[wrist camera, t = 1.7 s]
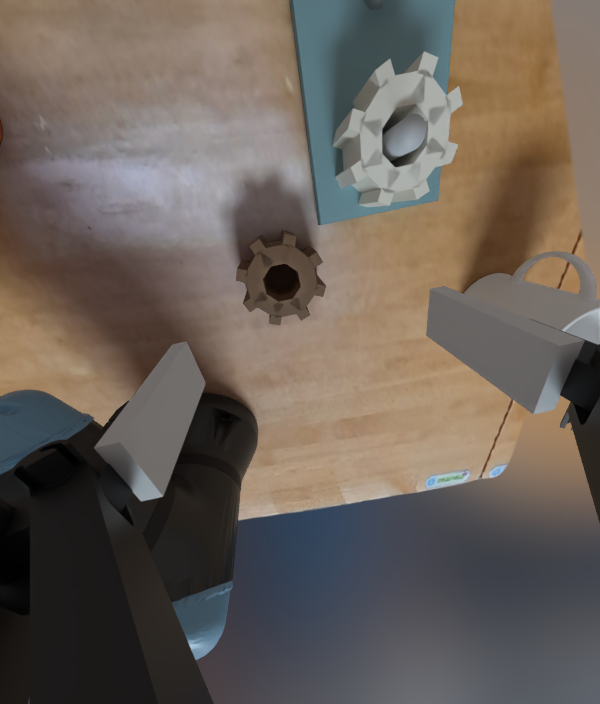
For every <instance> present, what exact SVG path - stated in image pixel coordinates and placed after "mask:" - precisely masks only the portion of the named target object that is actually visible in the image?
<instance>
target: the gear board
mask: <svg viewBox="0 0 600 704" xmlns="http://www.w3.org/2000/svg"><path fill="white" fill-rule="evenodd" d="M454 5H455V0H290V8H291V16H292V24H293V31H294V39H295V47H296V55H297V62H298V70H299V78H300V86H301V94H302V101H303V109H304V117H305V125H306V132H307V140H308V148H309V156H310V164H311V171H312V179H313V187H314V195H315V202H316V210H317V218H318V225H324V224H328V223H333V222H338V221H343V220H347V219H352V218H357V217H362V216H366V215H371V214H376V213H381V212H385V211H390V210H395V209H400V208H404V207H409V206H414V205H419V204H423V203H428V202H433V201H438V196H439V184H440V172H441V166H439V167H435V168H434V170H433V171H432V172H431V174H430V175H429V176H428V178H427V179H426V181H427V184H428V187H429V192H428V193H426V194H425V195H423V196H422V197H420V198H419V199H417V200H410V201H402V202H393V203H391V204H390V205H389V206H378V207H365V206H361V205H358V203H359V199H360V196H361V193H360V192H358V191H357V190H356V189H355V188H354V187H353V186H352V185H349V186H347V187H344V188H342V189H341V188H340V186H339V184H338V182H337V180H336V178H335V177H336V176H337V175H338V174H340V173H341V172H342V171H344V168H343V155H342V149H339V148H336V147H333V141H334V137H335V132H336V130H337V128H338V127H339V126H340V124H341V123H342V122H343V120H344V119H345V118H346V117H347V115H348V114H349V113H350V111H351V110H352V109H353V108H354V109H355V107H354V105H353V100H354V99H355V98H356V96H357V95H358V93H359V92H360V91H361V89H362V88H363V86H364V85H365V84H366V82H367V81H368V80H369V78H370V77H371V75H372V74H373V73H374V71H375V70H376V69H378V68H379V67H380V66H381V65H382V64H384V63H385V62H386V61H387V60H389V59H390V60H391V63H392V66H393V70H394V73H395V75H400V74H403V73H404V72H405V71H406V70H407V69H408V68H409V67H410V66H411V65H412V64H413V62H414V61H415V60H416V59H417V58H418V57H419V56H420V55H421V54H422V53H423V52H424V51H425V52H427V53H429V54H432V55H434V56H436V57H439V58H438V61H437V64H436V67H435V70H434V73H433V76H432V77H433V78H434V79H435V81H436V82H437V83H438V85H439V86H440V87H441V89H442V90H443V91H444V93H445V94H446V95H447V89H448V77H449V65H450V53H451V41H452V29H453V17H454ZM425 134H426V124H425V121H424V119H423V117H422V116H421V115H419V114H410V115H408V116H407V117H406V118H404V119H403V120H401V121H400V122H399V123H397V124H396V125H395V126H393V127H392V128H391V129H388V128H387V127H383V129H382V154H383V155H384V156H385V157H386V158H387V159H388V160H389V161H390V163H391V164H392V165H393V163H394V162H395V160H396V159H397V158H398V157H400V156H403V155H405V154H407V153H409V152H411V151H413V150H415V149H417V148H418V147H419V146H420V145H421V144H422V142H423V140H424V138H425Z"/></svg>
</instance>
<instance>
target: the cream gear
mask: <svg viewBox="0 0 600 704" xmlns="http://www.w3.org/2000/svg"><path fill="white" fill-rule="evenodd" d="M438 58H439V57H436V56H434V55H432V54H429V53H427V52H425V51H424V52H423V53H422V54H421V55H420V56H419V57H418V58H417V59H416V60H415V61H414V62H413V64H412V65H411V66H410V67H409V68H408V69H407V70H406V71H405V72H404V73H403V74H400V75H395V73H394V70H393V66H392V63H391V60H390V59H389V60H387V61H386V62H385V63H384V64H382V65H381V66H380V67H379V68H378V69H376V70H375V71H374V73H373V74H372V75H371V77H370V78H369V80H368V81H367V82H366V84H365V85H364V86H363V88H362V89H361V91H360V92H359V93H358V95H357V96H356V98H355V99H354V100H353V105H354V107H355V109H354V108H353V109H352V110H351V111H350V113H349V114H348V115H347V117H346V118H345V119H344V120H343V122H342V123H341V124H340V126H339V127H338V128H337V130H336V132H335V137H334V141H333V147H336V148H339V149H342V155H343V168H344V171H342V172H341V173H340V174H338V175H337V176H336V177H335V178H336V180H337V182H338V184H339V186H340V188H341V189H342V188H344V187H347V186H349V185H352V186H353V187H354V188H355V189H356V190H357V191H358V192H360V193H361V196H360V199H359V203H358V205H361V206H365V207H378V206H389V205H390V204H391V203H393V202H402V201H410V200H417V199H419V198H420V197H422V196H423V195H425V194H426V193H428V192H429V187H428V184H427V181H426V179H427V178H428V176H429V175H430V174H431V172H432V171H433V170H434V168H435V167H439V166H442V165H445V164H449V163H451V162H452V160H453V157H454V155H455V152H456V150H457V147H458V145H457V144H454V143H451V142H449V141H448V137H449V126H450V115H451V113H452V112H454V111H455V110H456V109H458V108H459V107H460V106H462V105H463V104H462V99H461V94H460V89H459V86H458V87H457V88H455V89H454V90H453V91H451V92H450V93H448V94H447V95H446V94H445V93H444V91H443V90H442V89H441V87H440V86H439V85H438V83H437V82H436V81H435V79H434V78H433V77H432V76H433V73H434V70H435V67H436V64H437V61H438ZM410 114H419V115H421V116H422V117H423V119H424V121H425V124H426V134H425V138H424V140H423V142H422V144H421V145H420V146H419V147H418V148H417V149H415V150H413V151H411V152H409V153H407V154H405V155H403V156H400V157H398V158H397V159H396V160H395V162H394V163H393V165H392V164H391V163H390V161H389V160H388V159H387V158H386V157H385V156H384V155H383V154H382V129H383V127H387V128H388V129H391V128H392V127H393V126H395V125H396V124H397V123H399V122H400V121H401V120H403V119H404V118H406V117H407V116H408V115H410Z"/></svg>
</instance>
